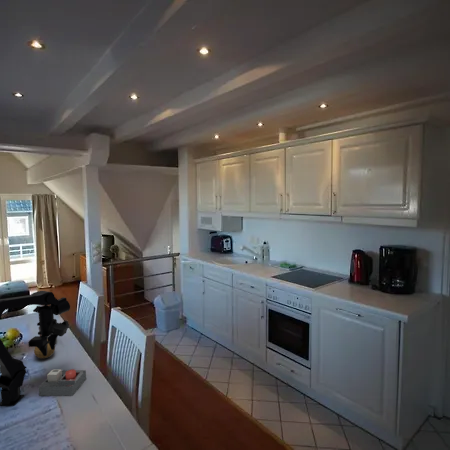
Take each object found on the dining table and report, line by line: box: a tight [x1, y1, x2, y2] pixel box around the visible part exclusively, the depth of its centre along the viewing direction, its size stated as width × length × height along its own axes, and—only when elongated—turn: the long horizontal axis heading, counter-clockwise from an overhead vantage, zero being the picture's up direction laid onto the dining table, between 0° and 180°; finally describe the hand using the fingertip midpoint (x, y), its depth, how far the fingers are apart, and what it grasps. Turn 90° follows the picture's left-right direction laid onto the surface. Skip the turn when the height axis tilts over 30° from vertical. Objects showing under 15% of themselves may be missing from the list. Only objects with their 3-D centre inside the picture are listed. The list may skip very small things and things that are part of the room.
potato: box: [33, 339, 56, 359], centre depth 163 cm, size 10×14×8 cm
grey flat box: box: [37, 369, 87, 397], centre depth 136 cm, size 12×14×5 cm
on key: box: [46, 369, 63, 382], centre depth 135 cm, size 4×4×5 cm
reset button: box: [65, 368, 76, 380], centre depth 135 cm, size 4×4×5 cm
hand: (49, 352), depth 142 cm, fingers open, 5 cm apart
